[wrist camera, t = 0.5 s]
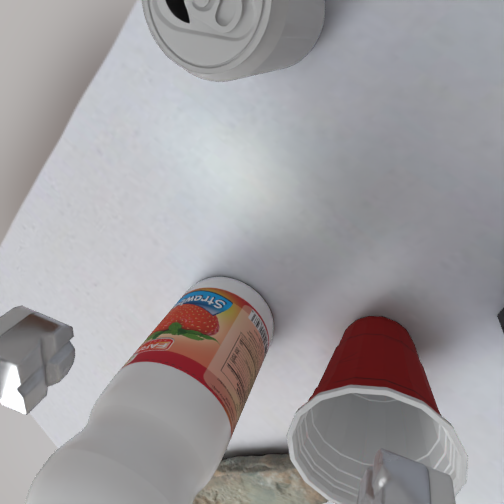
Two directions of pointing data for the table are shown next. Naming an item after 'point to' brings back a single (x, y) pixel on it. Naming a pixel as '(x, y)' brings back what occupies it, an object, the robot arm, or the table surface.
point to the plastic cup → (371, 414)
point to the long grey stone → (258, 483)
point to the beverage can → (234, 34)
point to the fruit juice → (167, 405)
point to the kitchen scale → (501, 319)
